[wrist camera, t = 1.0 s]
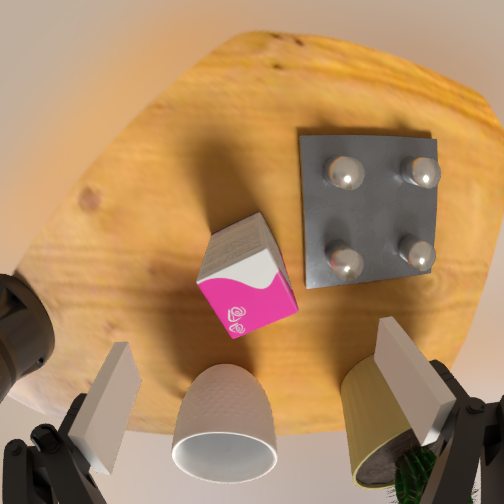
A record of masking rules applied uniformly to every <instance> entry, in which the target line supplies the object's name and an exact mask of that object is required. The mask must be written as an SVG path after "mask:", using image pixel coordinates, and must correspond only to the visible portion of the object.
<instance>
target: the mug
mask: <svg viewBox="0 0 504 504" xmlns="http://www.w3.org/2000/svg"><path fill="white" fill-rule="evenodd" d="M171 455H172V459H173V461H174V463H175V464H176V465H177V466H178V467H179V468H180V469H181V470H182V471H184V472H185V473H187V474H189V475H191V476H193V477H195V478H198V479H201V480H205V481H209V482H215V483H240V482H246V481H250V480H254V479H257V478H259V477H261V476H263V475H265V474H266V473H268V472H269V471H270V470H271V469H272V468H273V467H274V466H275V464H276V462H277V458H278V456H277V445H276V435H275V426H274V419H273V415H272V410H271V407H270V403H269V401H268V397H267V395H266V394H265V391H264V389H263V388H262V386H261V384H260V383H259V382H258V380H257V379H256V378H255V377H254V376H253V375H252V374H251V373H249V372H248V371H247V370H245V369H244V368H242V367H239V366H237V365H233V364H218V365H214V366H212V367H210V368H208V369H206V370H205V371H203V372H202V373H201V374H199V376H198V377H196V379H195V380H194V381H193V382H192V384H191V386H190V387H189V388H188V391H187V392H186V394H185V397H184V398H183V400H182V404H181V406H180V411H179V413H178V418H177V421H176V427H175V430H174V437H173V443H172V451H171Z"/></svg>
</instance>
